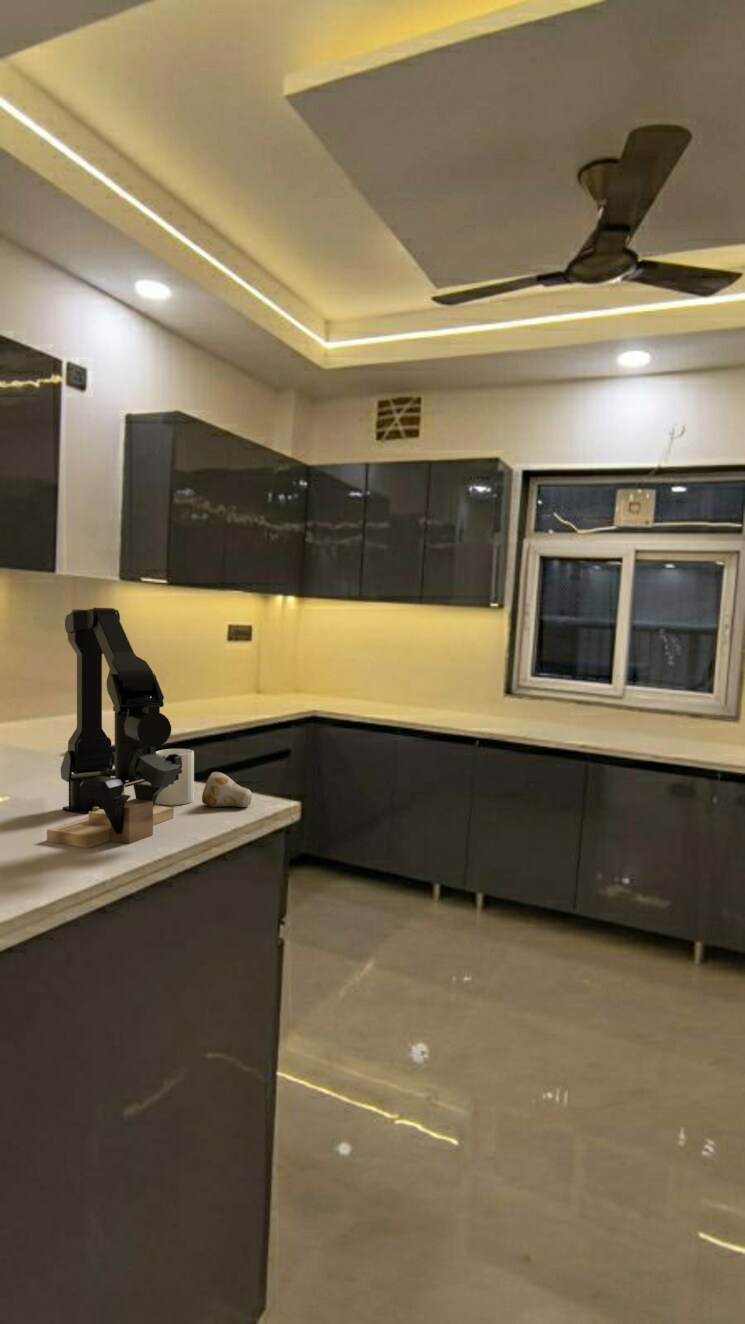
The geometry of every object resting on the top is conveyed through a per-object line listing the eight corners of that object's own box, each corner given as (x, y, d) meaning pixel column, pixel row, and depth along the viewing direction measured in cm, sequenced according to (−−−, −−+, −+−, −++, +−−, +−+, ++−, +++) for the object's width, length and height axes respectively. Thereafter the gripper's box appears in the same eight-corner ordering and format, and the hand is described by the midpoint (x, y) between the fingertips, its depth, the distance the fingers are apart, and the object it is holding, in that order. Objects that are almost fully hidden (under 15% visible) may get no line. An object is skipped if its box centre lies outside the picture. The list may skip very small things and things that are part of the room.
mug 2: (193, 805, 154) (193, 754, 154) (153, 806, 153) (153, 755, 152) (194, 792, 166) (194, 745, 166) (157, 793, 164) (157, 746, 164)
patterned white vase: (251, 813, 150) (225, 771, 148) (212, 830, 152) (187, 789, 151) (263, 796, 157) (239, 755, 155) (225, 812, 159) (201, 773, 158)
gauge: (81, 835, 130) (80, 801, 130) (105, 827, 136) (105, 794, 136) (129, 843, 126) (129, 808, 126) (152, 834, 132) (153, 800, 131)
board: (46, 841, 127) (46, 829, 127) (136, 812, 147) (136, 802, 147) (87, 848, 123) (87, 835, 123) (173, 818, 143) (173, 807, 143)
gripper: (131, 751, 117) (131, 849, 118) (203, 736, 134) (202, 822, 135) (77, 745, 122) (77, 840, 122) (153, 732, 139) (153, 815, 139)
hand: (131, 829), depth 130 cm, fingers closed on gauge, 6 cm apart
